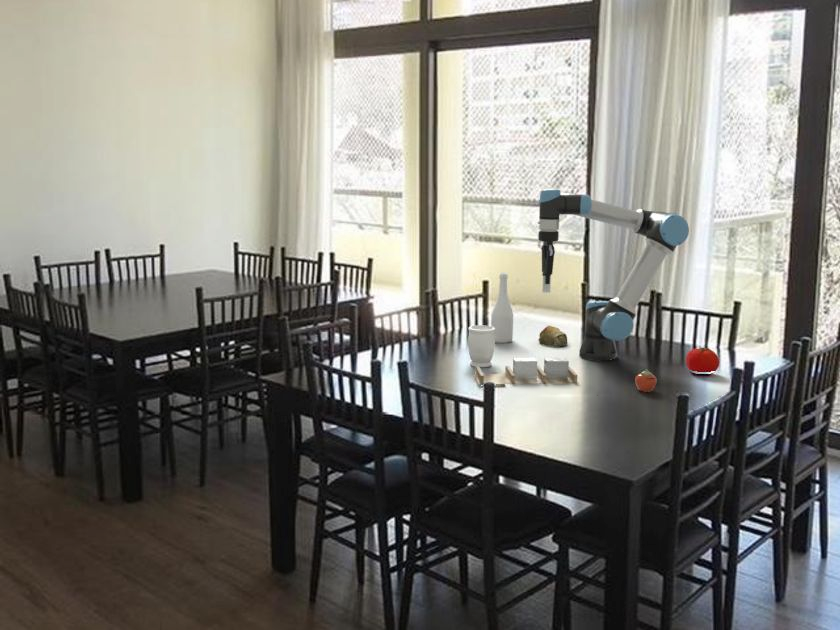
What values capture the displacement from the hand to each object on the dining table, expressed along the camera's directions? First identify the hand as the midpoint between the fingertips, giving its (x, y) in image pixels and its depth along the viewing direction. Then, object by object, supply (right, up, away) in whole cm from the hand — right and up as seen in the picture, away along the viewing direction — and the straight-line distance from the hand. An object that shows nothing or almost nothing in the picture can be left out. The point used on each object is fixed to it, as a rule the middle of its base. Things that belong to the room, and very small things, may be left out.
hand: (546, 292), depth 334 cm
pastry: (+10, -22, +46) cm, 52 cm away
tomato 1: (+31, -36, -27) cm, 54 cm away
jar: (-25, -29, +7) cm, 38 cm away
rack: (-10, -33, -16) cm, 38 cm away
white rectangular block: (-10, -32, -16) cm, 37 cm away
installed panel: (+1, -32, -15) cm, 35 cm away
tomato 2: (+58, -31, -2) cm, 66 cm away
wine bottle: (-12, -20, +50) cm, 55 cm away
